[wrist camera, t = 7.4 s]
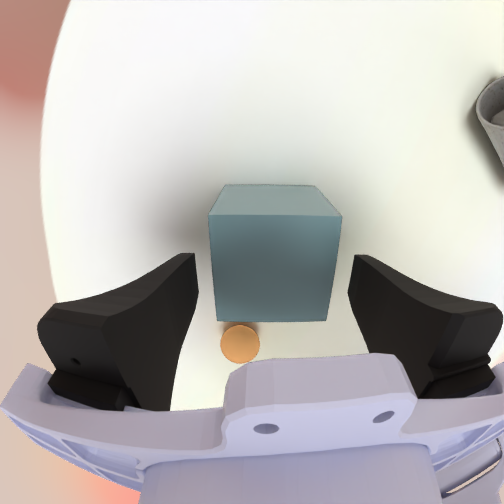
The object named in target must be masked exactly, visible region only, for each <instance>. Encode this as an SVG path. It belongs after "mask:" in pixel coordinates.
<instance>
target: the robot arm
mask: <svg viewBox="0 0 504 504" xmlns="http://www.w3.org/2000/svg"><path fill="white" fill-rule="evenodd" d="M198 294H199V289H198V281H197V272H196V263H195V254H194V253H180V254H178V255H176V256H175V257H173V258H171V259H170V260H168V261H167V262H165V263H163V264H162V265H160V266H159V267H157V268H156V269H154V270H152V271H151V272H149V273H147V274H145V275H144V276H142V277H140V278H138V279H136V280H134V281H132V282H130V283H128V284H126V285H124V286H122V287H119V288H117V289H114V290H111V291H108V292H105V293H103V294H99V295H96V296H92V297H88V298H84V299H80V300H75V301H68V302H62V303H55V304H54V305H53V306H52V307H51V308H50V309H49V310H48V311H47V312H46V314H45V315H44V316H43V317H42V318H41V319H40V321H39V323H38V325H37V331H38V336H39V339H40V341H41V344H42V346H43V347H44V349H45V351H46V353H47V354H48V356H49V358H50V359H51V361H52V363H53V364H54V366H55V368H56V370H55V372H54V374H53V375H52V374H51V373H50V372H49V371H47V370H45V369H43V368H40V367H38V366H35V365H33V364H30V363H27V365H26V366H25V368H24V369H23V370H22V372H21V373H20V375H19V376H18V378H17V379H16V381H15V382H14V384H13V385H12V387H11V389H10V390H9V392H8V393H7V395H6V397H5V398H4V400H3V401H2V403H1V405H0V409H1V410H2V411H3V412H4V413H5V414H6V415H7V417H8V418H9V419H10V420H11V421H12V422H13V423H14V424H15V425H16V426H17V427H19V429H20V430H21V431H22V432H23V433H25V434H26V435H27V436H28V437H29V438H30V439H31V440H32V441H33V442H34V443H36V444H37V445H39V446H41V447H42V448H44V449H46V450H48V451H49V452H51V453H53V454H55V455H57V456H59V457H61V458H62V459H64V460H66V461H69V462H70V463H72V464H74V465H76V466H78V467H80V468H82V469H84V470H87V471H89V472H91V473H93V474H95V475H98V476H100V477H102V478H104V479H107V480H109V481H112V482H114V483H117V484H119V485H122V486H125V487H128V488H131V489H133V490H136V491H139V492H141V494H140V499H139V503H138V504H501V500H500V496H499V493H498V492H499V490H500V488H501V487H502V485H503V483H504V362H502V363H500V364H497V365H496V366H494V367H493V368H492V369H490V367H489V365H488V364H489V363H490V361H491V358H490V357H489V355H488V352H489V350H490V349H491V347H492V345H493V344H494V342H495V340H496V338H497V337H498V335H499V332H500V330H501V327H502V324H503V314H502V312H501V311H500V310H499V309H498V307H497V306H496V305H495V304H493V303H488V302H481V301H474V300H469V299H465V298H460V297H457V296H453V295H450V294H447V293H444V292H441V291H438V290H435V289H433V288H430V287H428V286H426V285H423V284H421V283H419V282H417V281H415V280H413V279H411V278H409V277H407V276H405V275H403V274H402V273H400V272H398V271H396V270H395V269H393V268H391V267H389V266H388V265H386V264H384V263H383V262H381V261H379V260H377V259H375V258H373V257H371V256H369V255H354V261H353V267H352V272H351V278H350V283H349V288H348V297H349V301H350V305H351V308H352V311H353V314H354V316H355V318H356V321H357V323H358V326H359V328H360V330H361V333H362V335H363V337H364V340H365V342H366V345H367V348H368V350H369V354H359V355H347V356H334V357H317V358H284V359H267V360H261V361H255V362H249V363H247V364H245V365H243V366H242V367H240V368H239V369H237V370H235V371H234V372H232V373H230V376H229V378H228V381H227V384H226V387H225V395H224V403H223V407H218V408H209V409H197V410H183V411H170V405H171V398H172V391H173V385H174V379H175V374H176V369H177V364H178V359H179V355H180V351H181V348H182V345H183V342H184V339H185V336H186V334H187V331H188V328H189V325H190V323H191V320H192V317H193V314H194V312H195V308H196V304H197V299H198ZM498 442H499V443H500V445H499V443H498ZM500 446H501V447H500ZM501 448H502V450H501ZM502 452H503V453H502ZM499 459H500V461H499V463H498V464H497V465H496V466H495V467H494V468H493V469H491V470H490V471H488V472H487V473H485V474H484V475H482V476H481V477H479V478H477V479H476V480H474V481H473V482H471V483H469V484H468V485H466V486H464V487H463V488H461V489H459V490H457V491H455V492H452V493H446V492H448V491H450V490H452V489H454V488H456V487H457V486H459V485H461V484H463V483H464V482H466V481H468V480H470V479H471V478H473V477H474V476H476V475H478V474H479V473H481V472H482V471H484V470H485V469H487V468H488V467H489V466H491V465H492V464H494V463H495V462H497V461H498V460H499Z"/></svg>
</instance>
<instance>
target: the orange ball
mask: <svg viewBox="0 0 504 504" xmlns="http://www.w3.org/2000/svg"><path fill="white" fill-rule="evenodd" d="M220 346H221V350H222V353H223V354H224V356H225V357H226V358H227V359H228V360H230V361H231V362H234V363H246V362H249V361H251V360H252V359H253V358H254V357H255V356H256V355H257V353H258V351H259V347H260V341H259V338H258V336H257V334H256V333H255V332H254V330H252V329H251V328H249V327H247V326H243V325H237V326H233V327H231V328H229V329H228V330H226V331H225V333H224V334H223V336H222V338H221V343H220Z"/></svg>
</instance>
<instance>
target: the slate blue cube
mask: <svg viewBox="0 0 504 504" xmlns="http://www.w3.org/2000/svg"><path fill="white" fill-rule="evenodd" d="M208 220H209V235H210V249H211V262H212V274H213V285H214V296H215V306H216V316H217V321H229V322H310V321H326V319H327V314H328V308H329V303H330V298H331V292H332V286H333V280H334V274H335V267H336V261H337V254H338V247H339V239H340V231H341V223H342V216H341V215H340V213H339V212H338V211H337V210H336V209H335V208H334V207H333V205H332V204H331V203H330V202H329V201H328V200H327V199H326V198H325V197H324V195H323V194H322V193H321V192H320V191H319V190H318V189H317V188H316V187H315V186H301V185H225V186H224V188H223V190H222V192H221V193H220V195H219V197H218V198H217V200H216V202H215V204H214V205H213V207H212V209H211V211H210V213H209V214H208Z"/></svg>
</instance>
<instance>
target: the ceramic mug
mask: <svg viewBox="0 0 504 504" xmlns="http://www.w3.org/2000/svg"><path fill="white" fill-rule="evenodd" d="M476 113H477V116H478V118H479V120H480V122H481V124H482V125H483V127H484V128H485V130H486V132H487V134H488V136H489V138H490V140H491V142H492V144H493V146H494V148H495V150H496V152H497V154H498V156H499V158H500V160H501V162H502V164H503V167H504V76H503V77H501V78H499V79H497V80H495V81H493V82H492V83H491V84H489V85H488V86H487V87H486V88H485V89H484V90H483V92H482V93H481V94H480V96H479V98H478V100H477V103H476Z"/></svg>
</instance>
